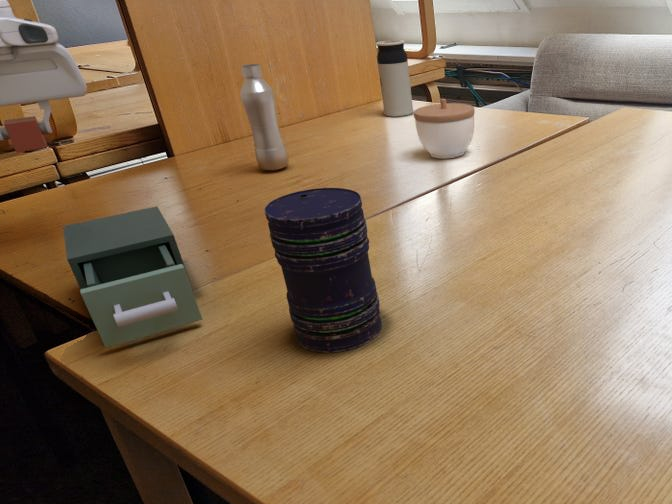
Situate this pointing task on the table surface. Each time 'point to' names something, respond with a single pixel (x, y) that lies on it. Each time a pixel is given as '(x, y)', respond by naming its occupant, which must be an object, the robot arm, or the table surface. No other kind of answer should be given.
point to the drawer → (138, 294)
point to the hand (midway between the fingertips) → (27, 136)
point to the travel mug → (394, 78)
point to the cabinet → (117, 238)
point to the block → (25, 134)
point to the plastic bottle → (263, 119)
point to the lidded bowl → (445, 128)
